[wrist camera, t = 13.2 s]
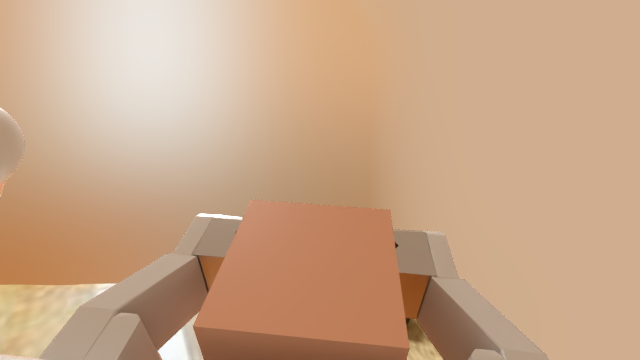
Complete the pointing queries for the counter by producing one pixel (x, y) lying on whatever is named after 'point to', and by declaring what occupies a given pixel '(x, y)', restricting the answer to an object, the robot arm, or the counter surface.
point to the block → (306, 287)
